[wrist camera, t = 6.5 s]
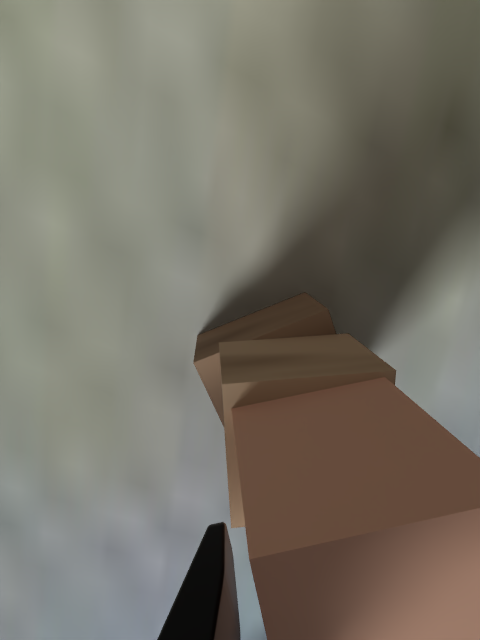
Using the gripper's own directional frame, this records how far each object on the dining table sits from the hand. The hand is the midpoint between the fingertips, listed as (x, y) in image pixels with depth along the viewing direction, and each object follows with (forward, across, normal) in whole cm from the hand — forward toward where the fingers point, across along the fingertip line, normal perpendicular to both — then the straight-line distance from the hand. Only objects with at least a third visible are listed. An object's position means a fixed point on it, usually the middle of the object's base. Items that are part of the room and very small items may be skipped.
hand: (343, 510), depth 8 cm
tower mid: (+6, 0, 0) cm, 6 cm away
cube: (+2, 0, 0) cm, 2 cm away
